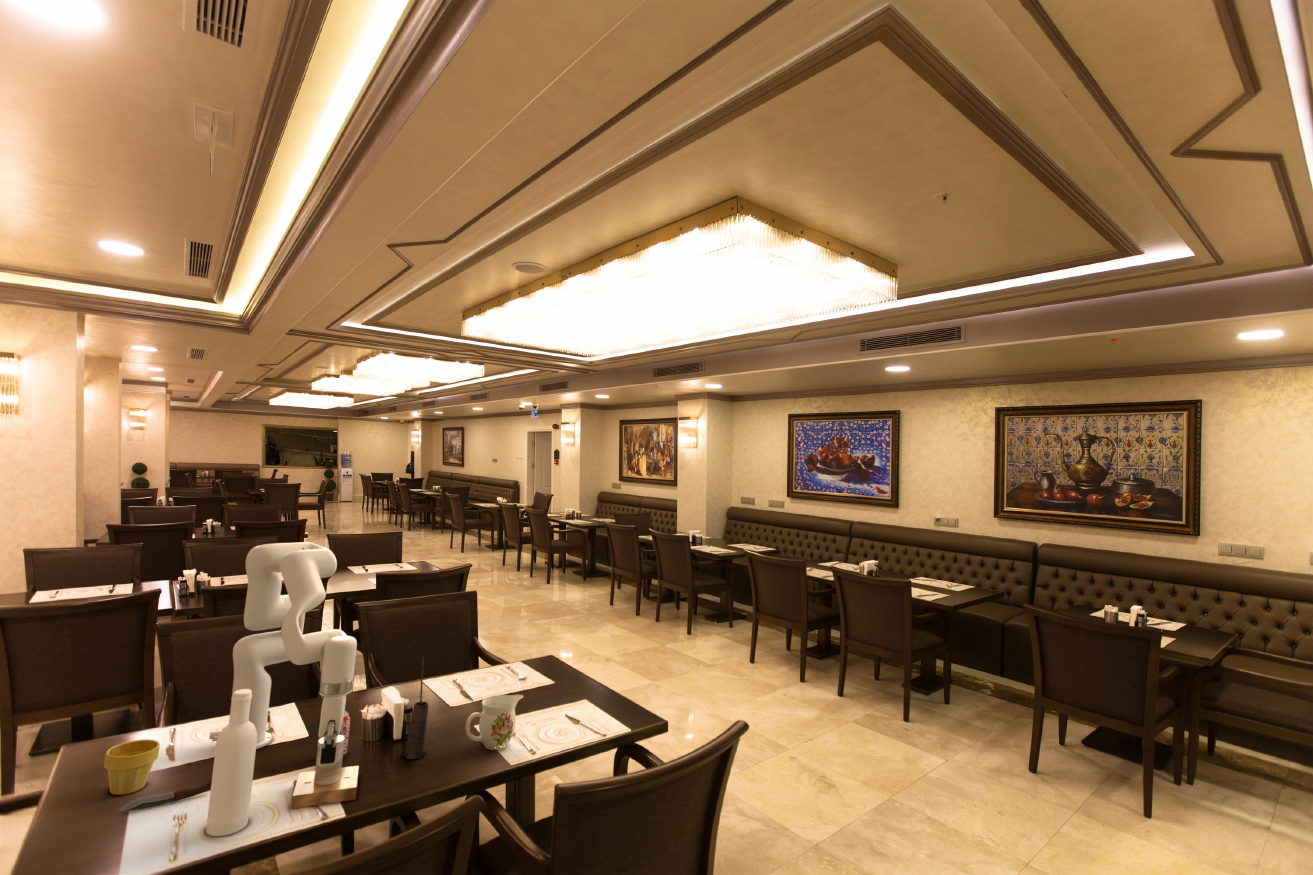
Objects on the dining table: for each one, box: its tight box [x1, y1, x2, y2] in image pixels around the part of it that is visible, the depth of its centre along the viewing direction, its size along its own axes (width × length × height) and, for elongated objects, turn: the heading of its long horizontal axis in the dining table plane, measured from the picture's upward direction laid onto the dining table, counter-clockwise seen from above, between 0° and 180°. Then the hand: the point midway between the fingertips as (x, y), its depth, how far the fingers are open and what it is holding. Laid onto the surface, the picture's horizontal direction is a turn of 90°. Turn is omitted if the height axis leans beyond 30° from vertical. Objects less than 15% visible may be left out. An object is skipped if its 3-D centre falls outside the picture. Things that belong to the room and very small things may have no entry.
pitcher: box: [465, 694, 524, 751], centre depth 184 cm, size 11×18×14 cm, turn 127°
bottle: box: [205, 689, 257, 837], centre depth 136 cm, size 8×8×30 cm
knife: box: [117, 780, 212, 812], centre depth 143 cm, size 18×2×3 cm, turn 131°
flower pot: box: [103, 739, 161, 796], centre depth 149 cm, size 10×10×10 cm
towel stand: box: [290, 765, 360, 809], centre depth 152 cm, size 14×12×3 cm
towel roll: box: [314, 735, 345, 786], centre depth 153 cm, size 6×6×10 cm
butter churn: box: [404, 655, 429, 760], centre depth 175 cm, size 9×10×28 cm
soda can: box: [321, 710, 351, 757], centre depth 171 cm, size 7×7×12 cm
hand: (329, 754), depth 153 cm, fingers open, 9 cm apart
